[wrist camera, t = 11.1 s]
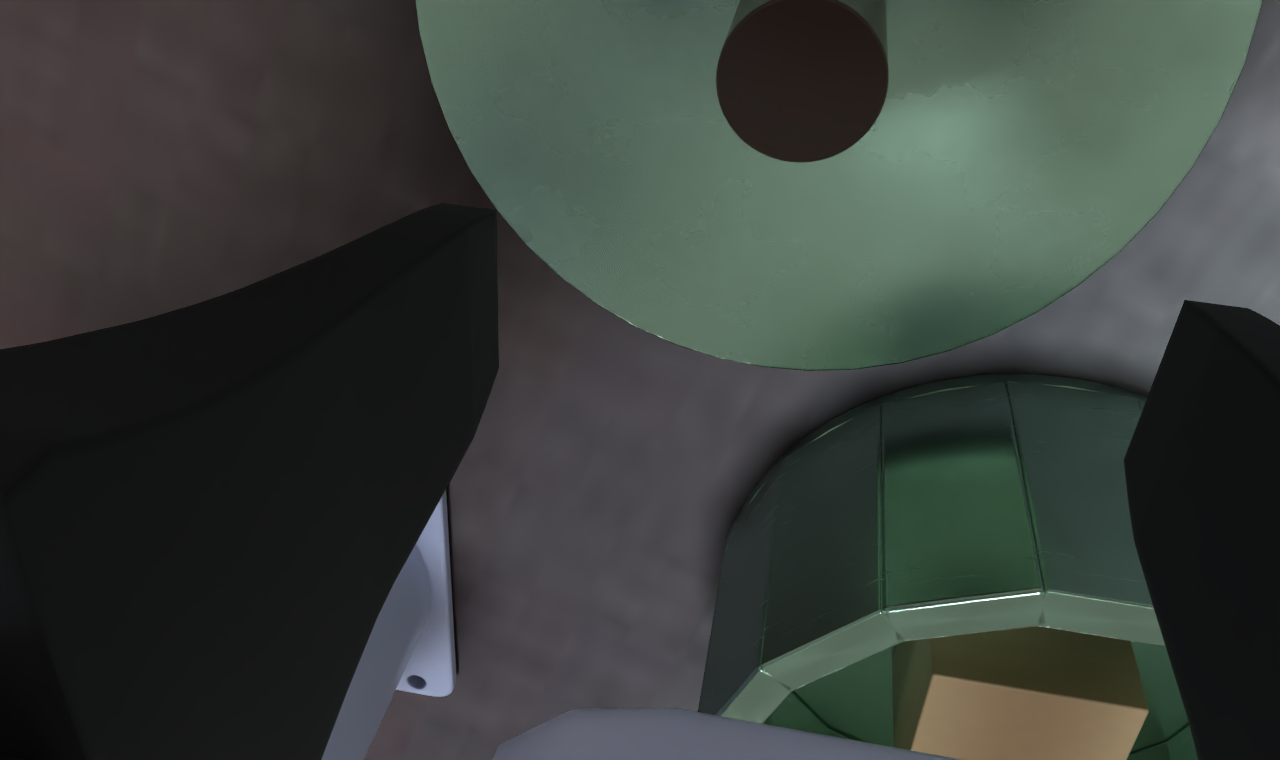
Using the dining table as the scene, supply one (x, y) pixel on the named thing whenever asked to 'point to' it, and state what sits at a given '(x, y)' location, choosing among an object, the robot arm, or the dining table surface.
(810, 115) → the lid
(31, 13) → the dining table surface
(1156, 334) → the dining table surface
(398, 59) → the dining table surface
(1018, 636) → the block
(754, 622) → the jar
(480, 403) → the robot arm
